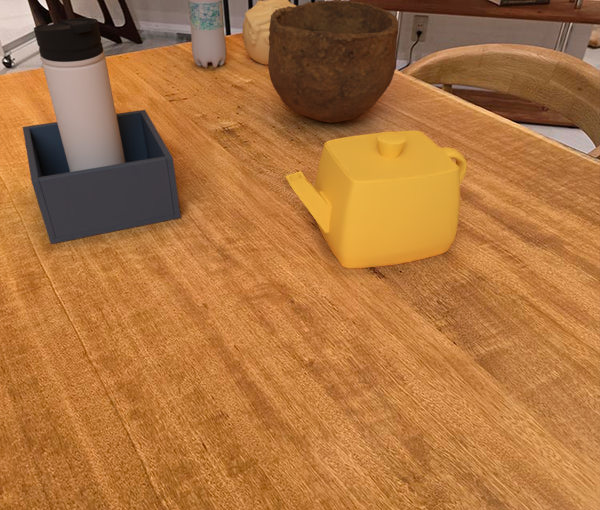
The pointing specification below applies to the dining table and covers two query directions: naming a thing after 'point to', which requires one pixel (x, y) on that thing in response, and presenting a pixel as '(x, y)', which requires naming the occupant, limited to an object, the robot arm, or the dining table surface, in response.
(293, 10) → the bowl
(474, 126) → the dining table surface
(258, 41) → the sculpture
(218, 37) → the bottle
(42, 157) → the box
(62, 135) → the travel mug
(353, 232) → the teapot
